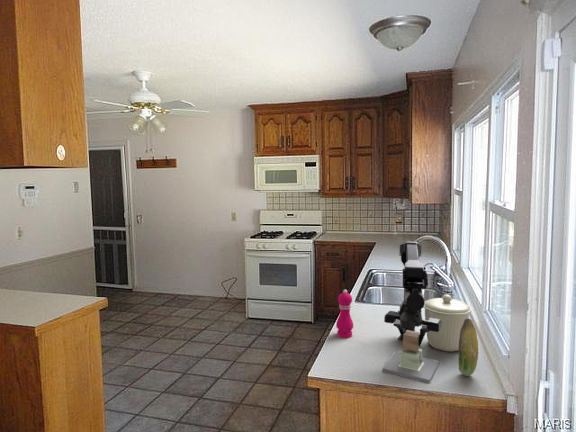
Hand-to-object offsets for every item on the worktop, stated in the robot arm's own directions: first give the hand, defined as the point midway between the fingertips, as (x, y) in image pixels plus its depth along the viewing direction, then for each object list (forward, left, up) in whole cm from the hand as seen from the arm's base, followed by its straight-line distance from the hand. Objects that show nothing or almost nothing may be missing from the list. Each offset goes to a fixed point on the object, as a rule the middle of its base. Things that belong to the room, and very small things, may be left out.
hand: (411, 344), depth 144 cm
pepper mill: (-15, -32, -9) cm, 36 cm away
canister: (-25, +7, -9) cm, 27 cm away
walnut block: (0, 0, -1) cm, 1 cm away
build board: (0, 0, -8) cm, 8 cm away
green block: (0, 0, -7) cm, 7 cm away
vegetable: (-3, +18, -9) cm, 20 cm away
